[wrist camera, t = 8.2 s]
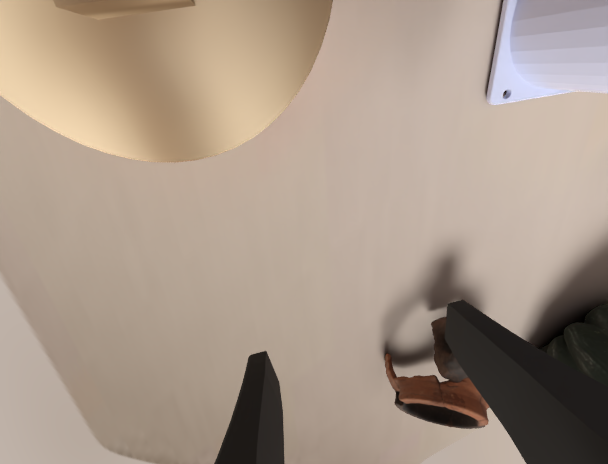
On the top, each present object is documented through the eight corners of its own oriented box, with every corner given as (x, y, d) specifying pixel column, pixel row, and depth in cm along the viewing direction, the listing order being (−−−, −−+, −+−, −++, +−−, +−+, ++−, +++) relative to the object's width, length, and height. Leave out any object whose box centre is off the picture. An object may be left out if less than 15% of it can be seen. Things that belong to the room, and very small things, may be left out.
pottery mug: (478, 349, 31) (489, 440, 26) (387, 334, 34) (381, 413, 29) (515, 291, 23) (543, 410, 17) (389, 277, 26) (381, 375, 20)
